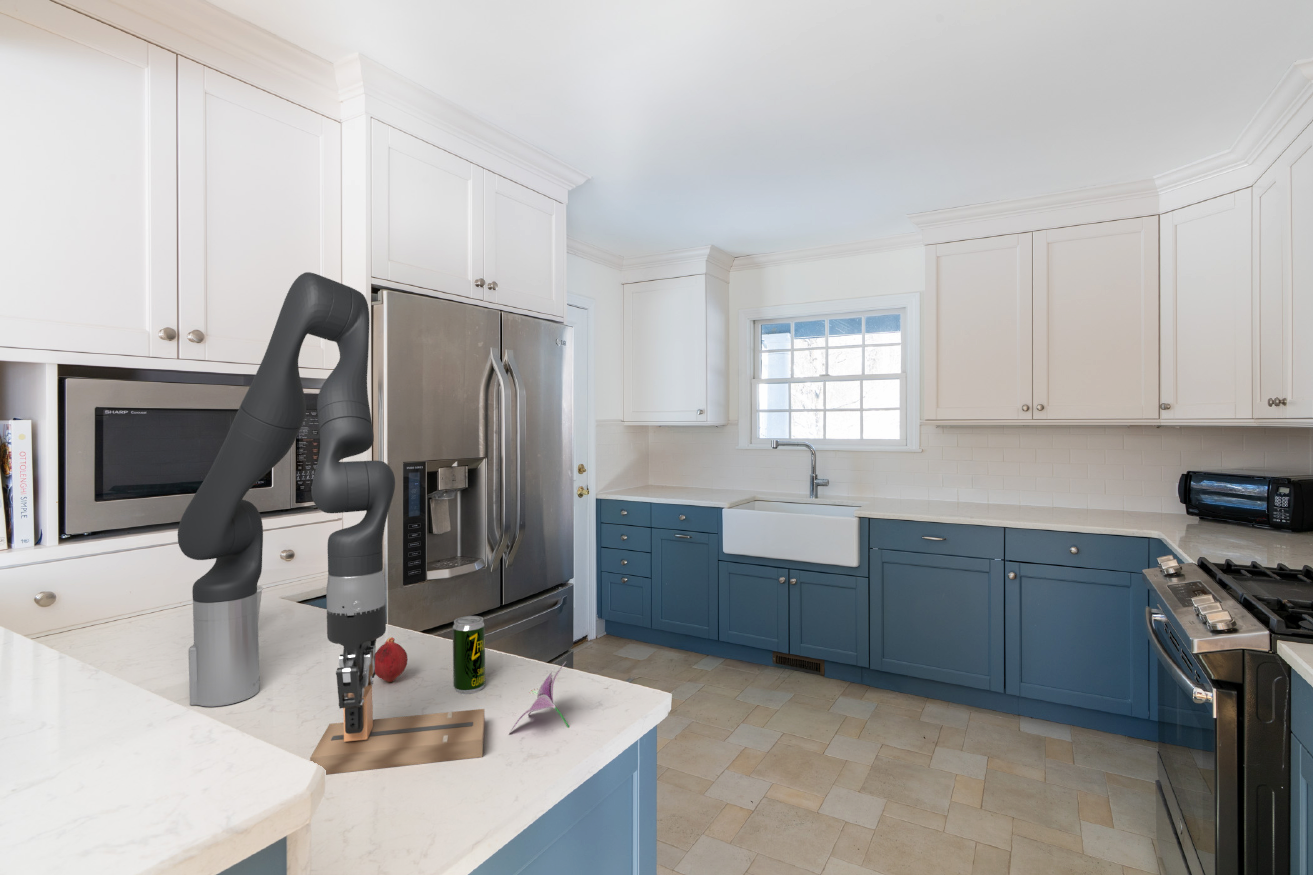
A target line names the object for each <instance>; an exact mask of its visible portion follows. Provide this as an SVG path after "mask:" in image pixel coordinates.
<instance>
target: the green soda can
mask: <svg viewBox="0 0 1313 875" xmlns="http://www.w3.org/2000/svg"><path fill="white" fill-rule="evenodd" d="M485 630H486V626H485V623H484V618H483V617H482V616H478V615H466V616H461V617H458V618H455V620H453V625H452V665H453V666H452V670H453V671H452V672H453V673H452V676H453V678H452V679H453V681H452V682H453V685H452V686H453V687H454V688H453V689H454V690H455V692H456V693H458V694H464V695H468V694H470V695H471V694H475V693H478V692H480V691H482V690H483V689H484V688H485V685H486V640H485V639H486V631H485Z"/></svg>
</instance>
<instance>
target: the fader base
mask: <svg viewBox="0 0 1313 875" xmlns="http://www.w3.org/2000/svg"><path fill="white" fill-rule="evenodd" d="M485 715H486V714H485V708H478V709H469V710H459V711H458V710H456V711H449V712H448V711H447V712H438V713H437V712H436V713H427V714H416V715H407V716H395V717H385V718H375V719H374V718H373V727H372V730H371V732H370V734H369V737H368V739H365V740H356V741H346V742H344V721H343V722H336V723H335V722H333V723H332V722H331V723H329V724H328V725H327V728H326V729H325V731H324V733H323V734H322V736H321V737H320V739H319V741H318V743H317V745H316V746H315V749H314V750H313V752H312V753H311V756H310V757H309V762H310V761H313V762H314V763H317V764H318V765H320V766H322V767H323V768H324V769H325V770H326V775H332V774H333V775H334V774H341V773H342V774H343V773H350V772H359V771H360V772H361V771H369V770H378V769H386V768H387V769H388V768H396V767H397V768H398V767H403V766H404V767H405V766H415V765H420V764H421V765H422V764H431V763H441V762H450V761H458V760H468V759H477V758H483V753H484V739H485V726H486V725H485V722H486V721H485V720H486V718H485Z"/></svg>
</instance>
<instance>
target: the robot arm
mask: <svg viewBox="0 0 1313 875" xmlns="http://www.w3.org/2000/svg"><path fill="white" fill-rule="evenodd" d="M275 323H276V324H275V326H274V328H273V331H272V333H271V334H272V335H271V337H270V340H269V343H268V345H267V346H266V347H267V348H266V350H265V353H264V356H263V357H262V360H261V361H260V364H259V367H258V369H257V371H256V373H255V375H254V377H253V380H252V382H251V384H250V386H249V388H248V390H247V392H246V393H245V395H244V397H243V399H242V401H241V403H240V406H239V407H238V410H237V411H236V414H235V416H234V419H233V420H232V422H231V426H230V427H229V430H228V432H227V435H226V436H225V439H224V441H223V444H222V445H221V447H220V449H219V451H218V454H217V455H216V457H215V459H214V461H213V463H212V465H211V467H210V469H209V471H208V473H207V475H206V476H205V478H204V479H203V482H202V483H201V484H200V486H199V487H198V489H197V491H196V493H195V494H194V496H192V499H191V500H190V501H189V503H188V505H187V507H186V509H185V510H184V513H183V514H182V516H181V518H180V521H179V525H178V529H177V542H178V547H179V549H180V551H181V552H182V554H183V555H184V556H185V557H187V558H188V559H191V560H196V561H207V560H215V561H214V562H215V563H214V564H213V566H212V567H211V568H210V569H209V570H208V571H207V572H206V573H205V574H203V575H202V576H201V577H199V578H198V579H197V580H195V582H193V585H192V589H191V590H192V592H191V593H192V614H193V616H192V618H193V619H192V621H193V622H192V624H193V644H192V645H191V646H189V648H188V676H189V678H188V679H189V682H188V683H189V684H188V685H189V686H188V687H189V705H190V706H194V705H195V706H196V705H197V706H201V707H221V706H222V707H223V706H227V705H232V704H235V703H236V704H237V703H239V702H240V703H241V702H242V701H245V700H248V699H249V698H252V697H253V696H256V695H257V694H258V693H259V691H260V656H259V655H260V653H259V650H260V649H259V647H260V646H259V621H258V602H257V585H258V582H259V580H260V578H261V575H262V570H263V547H264V527H263V520H262V517H261V513H260V512H259V510H258V508H257V507H256V505H254V503H252V502H251V501H248V500H246V499H243V498H244V497H245V496H246V494H247V493H248V492H249V491H250V489H251V488H253V486H254V485H255V484H256V483H258V482H259V481H260V480H261V479H262V478H264V476H266V474H267V473H269V472H270V471H271V470H272V469H273V468H274V467H275V466H276V465H277V464H279V462H280V461H281V460H282V459H283V458H285V456H286V455H287V454H288V453H289V452H290V451H291V448H292V447H293V445H294V443H295V441H296V439H297V437H298V435H299V434H300V430H301V429H302V427H303V425H304V423H305V420H306V418H307V403H306V398H305V396H306V395H305V393H304V389H303V385H302V380H301V376H300V369H299V358H300V354H301V348H302V346H303V343H304V341H305V338H306V336H307V335H310V336H314V337H318V338H320V339H324V340H327V341H329V342H334V343H336V345H337V348H338V352H339V360H338V362H337V364H336V366H335V367H334V368H333V370H332V371H331V372H330V374H329V375H328V377H327V378H326V379H325V380H324V382H323V383H322V386H321V387H320V390H319V392H318V395H317V400H316V412H317V420H318V429H319V440H320V441H319V442H320V443H319V444H320V445H319V455H318V458H317V463H316V467H315V470H314V471H315V472H314V475H313V478H312V482H311V483H312V484H311V497H312V501H313V503H314V505H315V506H316V507H317V509H319V510H320V511H321V512H323V513H325V514H341V513H342V514H343V513H344V514H345V513H355V512H365V514H364V516H363V518H362V520H360V522H358V523H357V524H353V525H351V526H348V527H345V528H341V529H338V530H336V531H333V532H332V533H331V534H329V536H328V538H327V583H326V590H325V591H326V592H325V593H326V595H325V596H326V637H327V640H328V641H329V642H330V643H332V644H336V645H341V646H343V650H342V651H343V652H342V653H341V654H339V658H338V666H339V667H337V668H336V671H335V675H336V683H337V684H336V685H337V687H336V688H337V695H338V696H337V697H338V708H339V709H343V708H345V732H346V733H347V734H352V733H360V732H361V731H362V730H363V727H364V722H363V703H364V688H365V687H366V686H369V685H372V686H373V685H374V680H373V679H374V678H375V676H376V674H375V653H376V643H377V639H380V638H381V637H383V636H384V635H385V633H386V631H387V630H386V629H387V620H386V619H387V617H386V614H387V613H386V612H387V610H386V609H387V608H386V582H385V577H384V576H385V575H384V559H383V558H384V557H383V553H384V552H383V549H384V548H383V542H384V541H383V540H384V532H385V528H386V522H387V519H388V514H389V511H390V507H391V504H392V501H393V497H394V494H395V489H396V478H395V473H394V472H393V469H392V468H391V466H390V465H389V464H388V463H386V462H385V461H382V460H359V461H357V460H355V461H353V460H352V461H342V460H343V459H344V460H345V459H346V458H349V457H355V456H358V455H362V454H363V453H365V452H367V451H369V450H370V449H371V447H372V446H373V444H374V440H375V436H374V435H375V434H374V428H373V427H374V426H373V422H372V414H371V409H370V402H369V394H368V371H369V370H368V368H369V367H368V366H369V351H370V350H369V348H370V347H369V346H370V344H369V343H370V310H369V304H368V300H367V298H366V296H365V295H364V294H363V293H362V292H361V291H359V290H357V289H356V288H353V287H351V286H349V285H346V284H343V283H341V282H338V281H336V280H333V279H330V278H328V277H325V276H322V275H320V274H318V273H314V272H310V271H307V272H303V273H301V274H300V275H298V277H297V278H295V280H294V281H293V283H292V284H291V286H290V287H289V289H288V291H287V293H286V295H285V298H284V301H283V304H282V306H281V309H280V311H279V313H278V317H277V320H276V322H275ZM349 693H353V694H354V697H349V698H348V696H349Z"/></svg>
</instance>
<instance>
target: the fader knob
mask: <svg viewBox="0 0 1313 875" xmlns="http://www.w3.org/2000/svg"><path fill="white" fill-rule="evenodd" d="M349 697H354V694H353V693H349V696H348V698H349ZM373 701H374V700H373V685H369V686H366V687H365V688H364V703H363V722H364V727H363V730H362V731H361V732H360V733H352V734H347V733H346V732H345V708H342V710H343V712H342V713H343V722H344V742H346V741H356V740H365V739H368V737H369V734H370V732H371V730H372V727H373V719H374V714H373V713H374V711H373V708H374V707H373Z"/></svg>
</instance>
